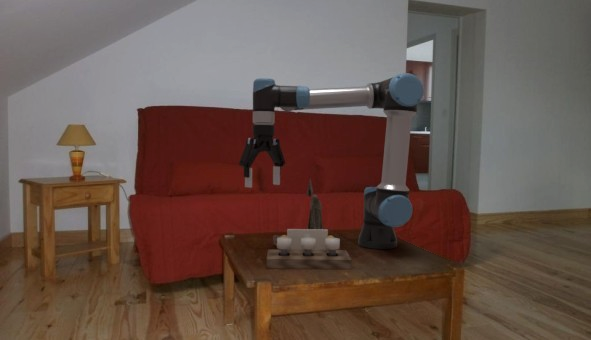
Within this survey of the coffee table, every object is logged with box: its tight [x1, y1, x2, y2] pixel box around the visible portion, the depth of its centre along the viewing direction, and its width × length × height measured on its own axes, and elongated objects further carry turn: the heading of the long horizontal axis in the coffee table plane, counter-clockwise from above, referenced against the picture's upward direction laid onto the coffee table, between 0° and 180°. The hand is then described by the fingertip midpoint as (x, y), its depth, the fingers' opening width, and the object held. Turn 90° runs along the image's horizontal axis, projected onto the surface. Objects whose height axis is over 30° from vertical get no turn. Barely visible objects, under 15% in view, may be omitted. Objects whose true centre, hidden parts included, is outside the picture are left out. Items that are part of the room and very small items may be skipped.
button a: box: [325, 237, 341, 256], centre depth 141 cm, size 5×5×6 cm
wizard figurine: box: [306, 178, 324, 229], centre depth 178 cm, size 10×8×25 cm
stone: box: [272, 235, 282, 247], centre depth 162 cm, size 9×11×5 cm
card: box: [280, 228, 335, 250], centre depth 147 cm, size 19×1×10 cm, turn 91°
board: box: [265, 248, 352, 270], centre depth 141 cm, size 27×12×3 cm, turn 91°
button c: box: [276, 237, 291, 256], centre depth 141 cm, size 5×5×6 cm
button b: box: [301, 237, 316, 256], centre depth 141 cm, size 5×5×6 cm
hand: (262, 186), depth 148 cm, fingers open, 13 cm apart
